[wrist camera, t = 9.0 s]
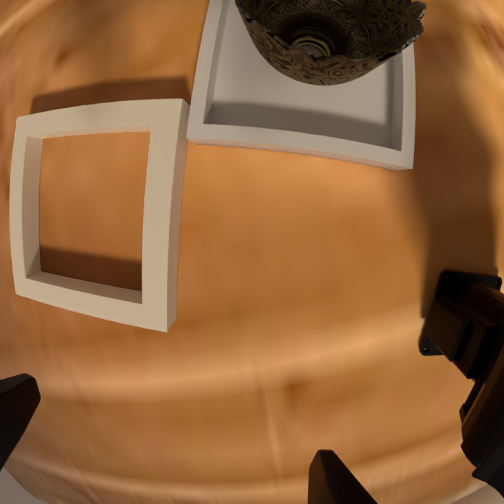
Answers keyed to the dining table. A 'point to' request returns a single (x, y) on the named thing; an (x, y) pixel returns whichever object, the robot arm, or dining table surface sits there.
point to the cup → (330, 35)
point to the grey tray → (298, 102)
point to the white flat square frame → (154, 221)
